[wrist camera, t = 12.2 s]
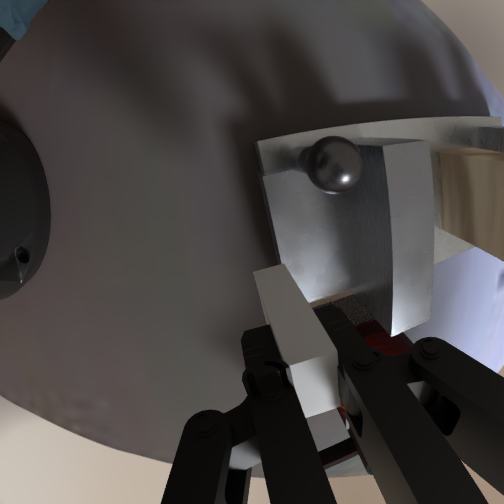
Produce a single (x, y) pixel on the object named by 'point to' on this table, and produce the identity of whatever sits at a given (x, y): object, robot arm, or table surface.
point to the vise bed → (427, 128)
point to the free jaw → (357, 223)
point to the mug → (350, 446)
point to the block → (474, 197)
